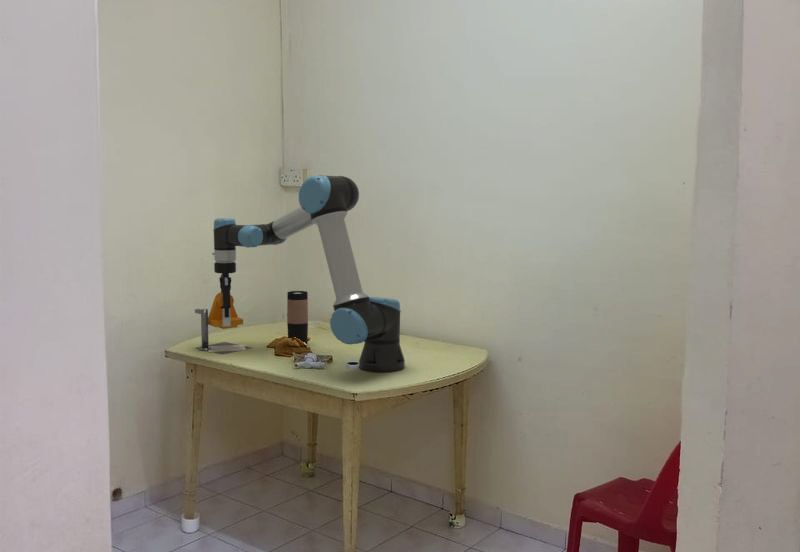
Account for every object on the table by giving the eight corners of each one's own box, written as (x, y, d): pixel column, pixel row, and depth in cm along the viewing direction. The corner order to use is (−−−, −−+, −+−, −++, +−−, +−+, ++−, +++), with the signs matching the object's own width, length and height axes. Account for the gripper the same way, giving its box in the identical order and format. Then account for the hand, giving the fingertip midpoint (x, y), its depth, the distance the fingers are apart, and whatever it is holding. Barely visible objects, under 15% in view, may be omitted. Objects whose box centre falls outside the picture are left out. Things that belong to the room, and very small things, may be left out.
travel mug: (284, 343, 270) (284, 291, 268) (303, 341, 274) (303, 290, 272) (292, 347, 264) (291, 294, 261) (311, 345, 267) (311, 292, 265)
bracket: (216, 329, 252) (215, 296, 250) (207, 326, 258) (207, 293, 256) (244, 326, 259) (243, 293, 257) (235, 323, 264) (235, 291, 263)
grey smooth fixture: (214, 349, 257) (213, 309, 256) (204, 351, 254) (203, 310, 252) (202, 346, 261) (201, 307, 259) (192, 348, 258) (191, 308, 256)
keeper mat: (222, 356, 248) (222, 355, 248) (192, 349, 258) (192, 348, 258) (257, 349, 261) (257, 347, 261) (226, 342, 271) (226, 341, 271)
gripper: (213, 258, 264) (214, 318, 267) (215, 265, 244) (216, 329, 247) (233, 258, 267) (234, 317, 269) (237, 264, 246) (238, 328, 249)
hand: (225, 323), depth 258 cm, fingers closed on bracket, 9 cm apart
